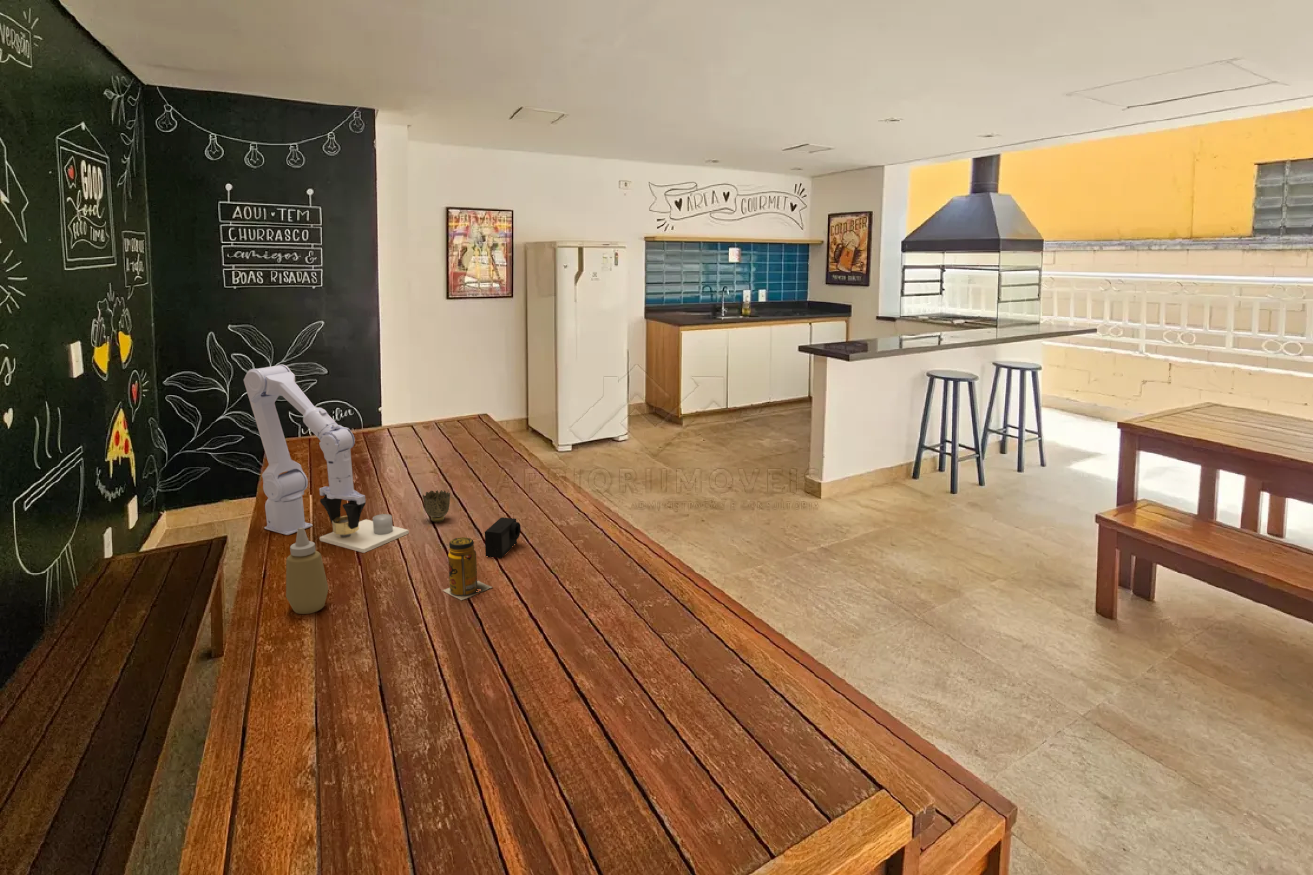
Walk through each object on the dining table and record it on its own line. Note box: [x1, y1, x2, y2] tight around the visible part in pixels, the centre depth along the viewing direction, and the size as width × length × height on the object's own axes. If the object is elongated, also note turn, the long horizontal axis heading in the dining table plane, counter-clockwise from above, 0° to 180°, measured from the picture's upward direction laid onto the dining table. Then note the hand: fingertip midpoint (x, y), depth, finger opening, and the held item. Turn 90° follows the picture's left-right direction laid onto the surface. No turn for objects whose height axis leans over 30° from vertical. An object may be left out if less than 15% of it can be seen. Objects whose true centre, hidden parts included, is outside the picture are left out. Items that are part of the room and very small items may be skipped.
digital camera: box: [484, 516, 522, 559], centre depth 182 cm, size 10×5×7 cm, turn 169°
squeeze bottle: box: [285, 527, 329, 615], centre depth 149 cm, size 8×8×18 cm
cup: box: [422, 489, 451, 523], centre depth 201 cm, size 8×7×8 cm
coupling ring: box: [331, 514, 359, 535], centre depth 187 cm, size 6×6×3 cm
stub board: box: [319, 513, 409, 554], centre depth 189 cm, size 16×15×5 cm
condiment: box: [442, 536, 493, 601], centre depth 160 cm, size 7×8×12 cm
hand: (344, 525), depth 187 cm, fingers closed on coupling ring, 6 cm apart
